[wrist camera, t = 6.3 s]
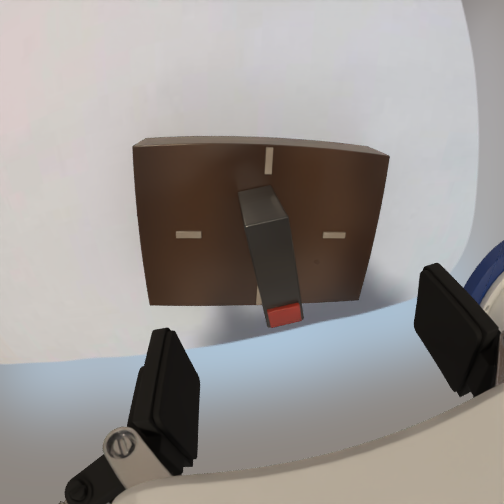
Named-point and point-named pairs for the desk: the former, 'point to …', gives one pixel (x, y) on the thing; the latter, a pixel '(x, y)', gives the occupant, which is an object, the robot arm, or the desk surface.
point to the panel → (230, 218)
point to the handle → (272, 255)
